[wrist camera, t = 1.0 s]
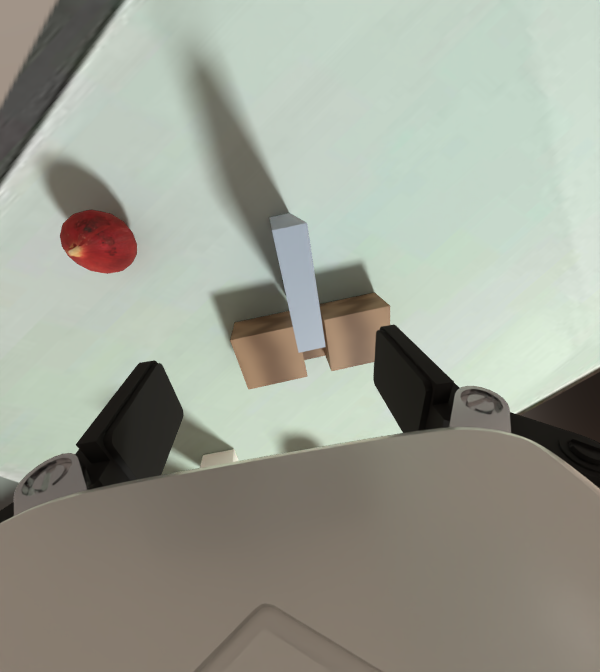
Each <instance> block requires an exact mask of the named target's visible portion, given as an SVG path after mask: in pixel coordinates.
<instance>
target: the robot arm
mask: <svg viewBox="0 0 600 672" xmlns="http://www.w3.org/2000/svg"><path fill="white" fill-rule="evenodd" d="M374 384H375V386H376V388H377V389H378V391H379V393H380V394H381V396H382V398H383V400H384V401H385V403H386V405H387V406H388V408H389V410H390V411H391V413H392V415H393V416H394V418H395V420H396V422H397V423H398V425H399V427H400V428H401V430H402V432H403V433H400V434H394V435H387V436H381V437H375V438H369V439H363V440H357V441H351V442H345V443H339V444H334V445H328V446H322V447H316V448H310V449H304V450H299V451H293V452H287V453H282V454H276V455H270V456H264V457H259V458H253V459H248V460H242V461H236V462H231V463H225V464H220V465H214V466H209V467H203V468H198V469H192V470H187V471H181V472H176V473H170V474H165V475H161V474H162V471H163V469H164V466H165V463H166V461H167V458H168V455H169V453H170V450H171V447H172V445H173V442H174V440H175V437H176V434H177V432H178V429H179V426H180V424H181V421H182V418H183V409H182V407H181V404H180V402H179V400H178V398H177V396H176V394H175V391H174V389H173V387H172V385H171V383H170V381H169V378H168V376H167V374H166V372H165V370H164V368H163V366H162V364H160V363H157V362H156V361H149V362H142V363H139V364H138V365H137V366H136V367H135V369H134V370H133V371H132V373H131V374H130V375H129V376H128V378H127V379H126V380H125V382H124V383H123V384H122V386H121V387H120V388H119V389H118V391H117V392H116V393H115V395H114V396H113V397H112V398H111V400H110V401H109V402H108V404H107V405H106V406H105V407H104V409H103V410H102V411H101V413H100V414H99V415H98V417H97V418H96V419H95V420H94V422H93V423H92V424H91V426H90V427H89V428H88V429H87V431H86V432H85V433H84V435H83V436H82V437H81V438H80V440H79V441H78V442H77V444H76V446H77V447H78V448H79V450H78V451H77V453H76V454H72V453H66V454H61V455H58V456H55V457H53V458H51V459H49V460H47V461H45V462H43V463H42V464H40V465H38V466H37V467H36V468H34V469H33V470H32V471H31V472H29V473H28V474H27V475H26V476H25V477H24V478H23V479H22V480H21V481H20V483H19V484H18V486H17V488H16V489H15V493H14V502H13V503H12V504H10V505H9V506H7V507H5V508H4V509H3V510H1V511H0V672H600V443H598V442H596V441H595V440H592V439H590V438H587V437H585V436H582V435H579V434H576V433H573V432H570V431H567V430H563V429H560V428H557V427H554V426H551V425H548V424H545V423H542V422H538V421H536V420H532V419H529V418H526V417H523V416H520V415H517V414H514V413H511V412H510V410H509V406H508V403H507V402H506V401H505V400H504V399H503V398H502V397H501V396H499V395H498V394H497V393H495V392H493V391H491V390H488V389H485V388H482V387H477V386H465V387H461V388H459V387H458V386H457V385H456V384H455V383H454V381H452V380H451V379H450V378H449V377H448V376H447V375H446V374H445V373H444V372H443V371H442V370H441V369H440V368H439V367H438V366H437V365H436V364H435V363H434V362H433V361H432V360H431V359H430V358H429V357H428V356H427V355H426V354H425V353H424V352H422V351H421V350H420V349H419V348H418V347H417V346H416V345H415V344H414V343H413V342H412V341H411V340H410V339H409V338H408V337H407V336H406V335H405V334H404V333H403V332H402V331H401V330H400V329H399V328H398V327H397V326H396V325H388V326H381V327H380V330H377V331H376V342H375V360H374Z"/></svg>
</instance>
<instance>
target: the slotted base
mask: <svg viewBox="0 0 600 672" xmlns="http://www.w3.org/2000/svg"><path fill="white" fill-rule="evenodd" d="M319 306H320V313H321V319H322V326H323V333H324V339H325V346H326V347H323V348H319V349H314V350H310V351H305V352H300V353H299V352H298V348H297V343H296V339H295V334H294V329H293V325H292V320H291V316H290V311H286V312H281V313H277V314H272V315H268V316H263V317H258V318H254V319H249V320H244V321H240V322H235V323H234V327H233V331H232V335H231V339H230V341H231V344H232V347H233V349H234V352H235V355H236V357H237V360H238V363H239V365H240V368H241V371H242V373H243V376H244V379H245V381H246V384H247V387H248V389H253V388H257V387H262V386H267V385H271V384H276V383H280V382H285V381H289V380H294V379H298V378H303V377H307V372H306V367H305V362H304V360H307V359H311V358H316V357H320V356H325V355H326V358H327V361H328V363H329V366H330V368H331V371H335V370H339V369H344V368H348V367H353V366H357V365H362V364H366V363H371V362H374V360H375V342H376V331H377V330H380V327H381V326H388V325H390V305H389V304H387V303H386V302H385V301H384V300H383V299H382V298H380V297H379V296H378V295H377V294H376V293H370V294H365V295H361V296H356V297H351V298H347V299H342V300H337V301H333V302H328V303H323V304H319Z"/></svg>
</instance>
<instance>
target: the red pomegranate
mask: <svg viewBox="0 0 600 672" xmlns="http://www.w3.org/2000/svg"><path fill="white" fill-rule="evenodd" d="M60 238H61V244H62V247H63V249H64V250H65V252H66V253H67V255H68V256H69V257H70V258H71V259H72V260H74V261H75V262H76V263H77V264H79V265H81V266H82V267H84V268H86V269H88V270H90V271H95V272H100V273H107V274H108V273H114V272H119V271H123V270H124V269H126V268H127V267H128V266H129V265H131V264H132V262H133V261H134V259H135V257H136V255H137V243H136V240H135V238H134V235H133V233H132V231H131V230H130V229H129V228H128V226H127V225H126V224H125V223H124V222H123V221H122V220H120V219H119V218H117V217H115V216H114V215H112V214H110V213H106V212H101V211H96V210H87V211H83V212H79V213H75V214H73V215H72V216H70V217H69V218H68V219H67V220H66V221H65V222H64V223H63V225H62V229H61V233H60Z"/></svg>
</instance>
